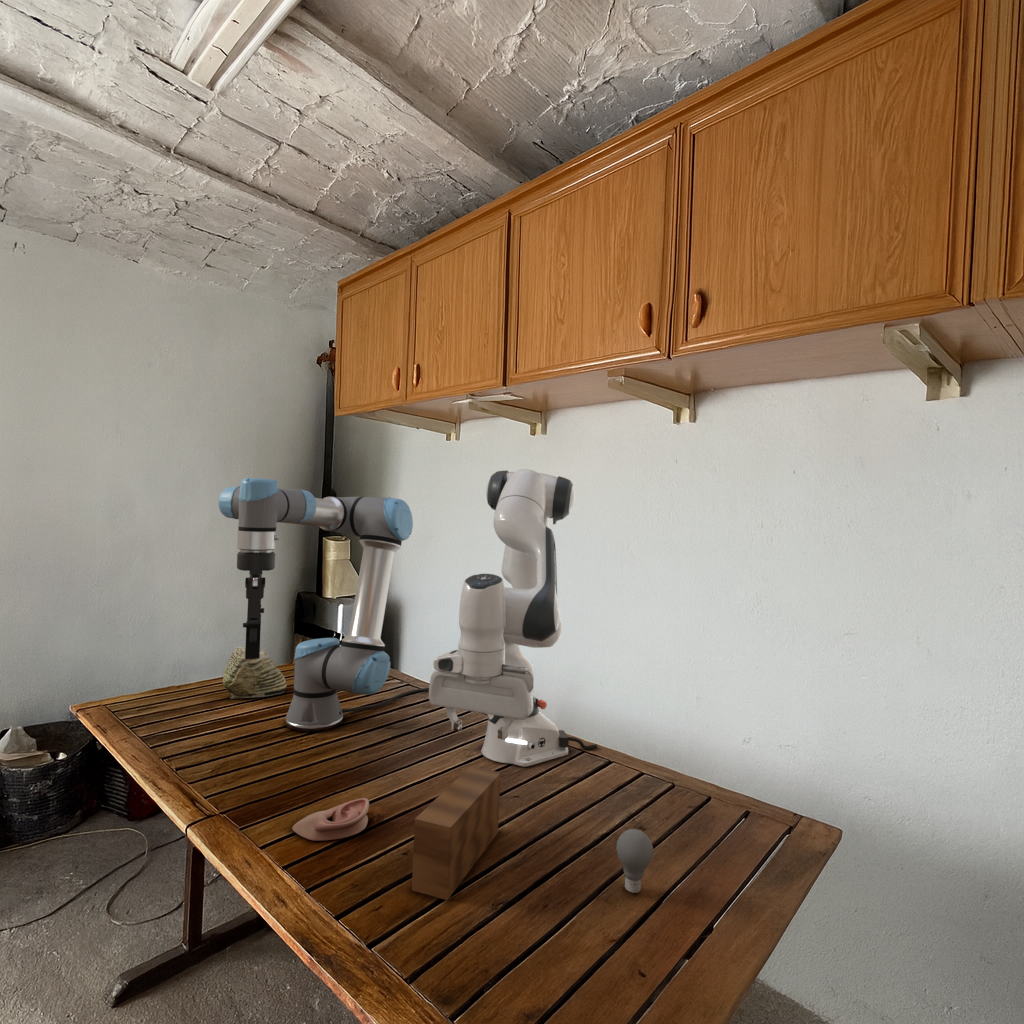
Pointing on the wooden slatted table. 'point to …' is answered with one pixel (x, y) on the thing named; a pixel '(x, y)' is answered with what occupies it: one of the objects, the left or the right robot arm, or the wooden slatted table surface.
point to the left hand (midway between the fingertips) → (252, 650)
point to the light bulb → (634, 857)
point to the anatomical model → (335, 821)
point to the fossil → (252, 676)
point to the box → (455, 832)
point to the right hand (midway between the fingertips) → (479, 734)
